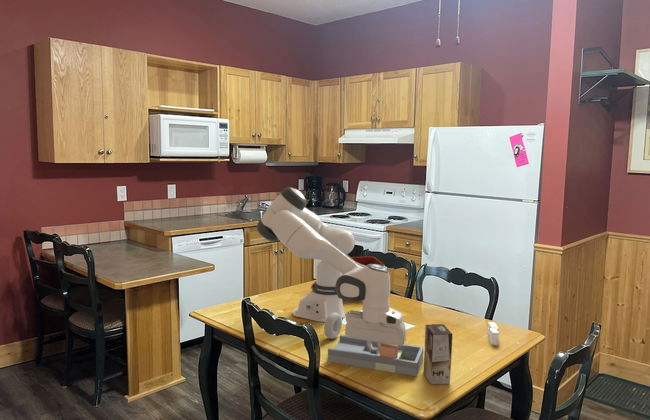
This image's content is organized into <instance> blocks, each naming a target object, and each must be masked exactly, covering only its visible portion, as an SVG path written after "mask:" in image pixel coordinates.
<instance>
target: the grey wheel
mask: <svg viewBox="0 0 650 420" xmlns="http://www.w3.org/2000/svg"><path fill="white" fill-rule="evenodd" d="M342 320H343V318H342V319H341V316H340V315H339V314H338V313H336V312H334V313H331V314H330V315H329V316H328V317H327V319H326V321H325V322H324V324H323V333H324V335H325V336H326V338H327V339H329V340H333V339H336V338H337V337H338V336H339V334H340V332H341V329H342V327H343V326H342V325H343V321H342Z"/></svg>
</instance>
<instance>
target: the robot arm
mask: <svg viewBox="0 0 650 420" xmlns="http://www.w3.org/2000/svg"><path fill="white" fill-rule="evenodd" d="M306 205H307V199H306V198H305V196H304V194H303V193H302V192H301V191H300V190H299V189H297V188H294V187H286V188H285V187H284V189H283V190H281V192H280V194H279V195H278V196H277V197H275V199H274V200H273V201H272V202H271V204H269V206H268V207H267V209H266V210H265V212H264V214H263V215H262V217H261V218H259V220H258V222H257V224H256V229H257V232H258V233H259V235H260V236H261V237H262V238H263V239H264V240H266V241H268V242H271V243H272V242H273V243H275V242H278V241H280V242H281V243H282V244H283V245H284V247H286V248H287V249H288V250H289V251H290V252H291V253H293V254H294V255H295V256H297V257H298V258H301V259H303V260H305V259H306V260H307V259H308V260H319V262H318V263H317V265H316V272H315V273H316V274H315V275H316V277H315V279H316V280H315V281H314V282H313V283H312V284H311V286H310V289H311V291H309V292H308V293H306V295H303V297H301V299H299V303H298V307H296V308H294V310H293V311H292V315H293V317H297V318H303V319H307V320H309V321H315V322H319V323H325V321H326V319H327V317H328V316H329V315H330V314H331V313H334V312H336V313H338V314H339V315H340V316H341V319H342V320H343V318H345V322H346V323H345V330H344V335H346V337H347V338H353V339H360V340H366V341H367V345H368V347H369V349H370V354H376V355H378V354H379V348H380V346H381V345H382V343H386V344H392V345H399V346H402V345H403V344H405V343H406V340H407V331H406V325H405V322H404V321H403V320H404V313H402V312H400V311H399V310H396V309H395V308H392V307H391V305H390V294H391V276H390V272H389V270H388V269H387V268H386V267H385V265H384V266H381V265H378V264H368V265H367V266H365V265H362V264H359V263H357V262H356V261H354V260H353V259H352V258H350V257H351V256H349V255H348V254H351V252H352V251H353V249H354V247H355V244H356V241H355V236H354V235H353V233H352V232H351V231H348V230H347V229H345V228H342V227H337V226H333V225H330V224H327V223H325V222H324V221H322V220H321V218H320V216H319V215H317V213H314V212H313V211H311V210H309V209H308V208H307V207H306ZM342 274H343V275H342ZM343 301H344V302H350V303H352V302H353V303H356V302H362V311H360V310H353V309H352V310H349V311H347V312H346V313H345V309H344V305H343ZM372 341H373V342H377V345H379V346H378V347H377V348H375V347H373V346H372V344H371V343H372Z"/></svg>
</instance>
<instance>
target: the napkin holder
mask: <svg viewBox="0 0 650 420" xmlns="http://www.w3.org/2000/svg"><path fill="white" fill-rule="evenodd" d="M499 331H500V328H499V327H498V326H497V323H495V322H494V321H493V322H492V321H488V322H487V332H486V333H487V336H488V341H489V343H490V345H491V346H499V335H500V332H499Z"/></svg>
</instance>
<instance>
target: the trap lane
mask: <svg viewBox="0 0 650 420" xmlns="http://www.w3.org/2000/svg"><path fill="white" fill-rule="evenodd" d="M371 344H372V346H373V347H375V348H377V347H378V346H379V345H377V342H373V341H372V343H371ZM424 351H425V346H420V345H419V346H418V345H412V344H405V343H404V344H403V345H402V346H399V345H398V358H397V359H396V358H390V357H383V356H380V348H379V354H378V355H376V354H370V349H369V347H368V345H367V341H366V340H360V339H353V338H347V337H346V335H345V334H340V335H339V341H338V342H337V343H336V344H335V346H334V347H333V348H331V347H328V349H327V362H328V363H336V364H340V365H346V366H353V367H358V368H359V367H360V368H364V369H370V370H375V371H382V372H389V373H393V374H401V375H406V376H412V377H417V376H418V374H419V372H420V369H421V366H422V363H423V362H424ZM403 358H404V359H403ZM407 359H410V360H407ZM411 359H412V360H411Z"/></svg>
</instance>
